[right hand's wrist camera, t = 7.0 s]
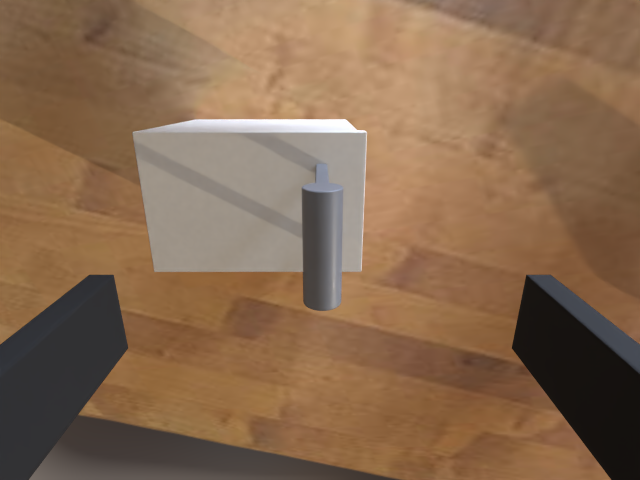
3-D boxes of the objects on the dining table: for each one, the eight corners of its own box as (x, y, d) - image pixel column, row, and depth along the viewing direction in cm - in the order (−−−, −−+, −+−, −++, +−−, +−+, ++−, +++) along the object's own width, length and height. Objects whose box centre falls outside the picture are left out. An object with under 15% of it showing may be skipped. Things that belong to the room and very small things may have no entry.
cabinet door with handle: (364, 130, 25) (389, 149, 16) (359, 264, 28) (378, 342, 19) (140, 130, 25) (42, 149, 16) (160, 265, 28) (88, 342, 19)
